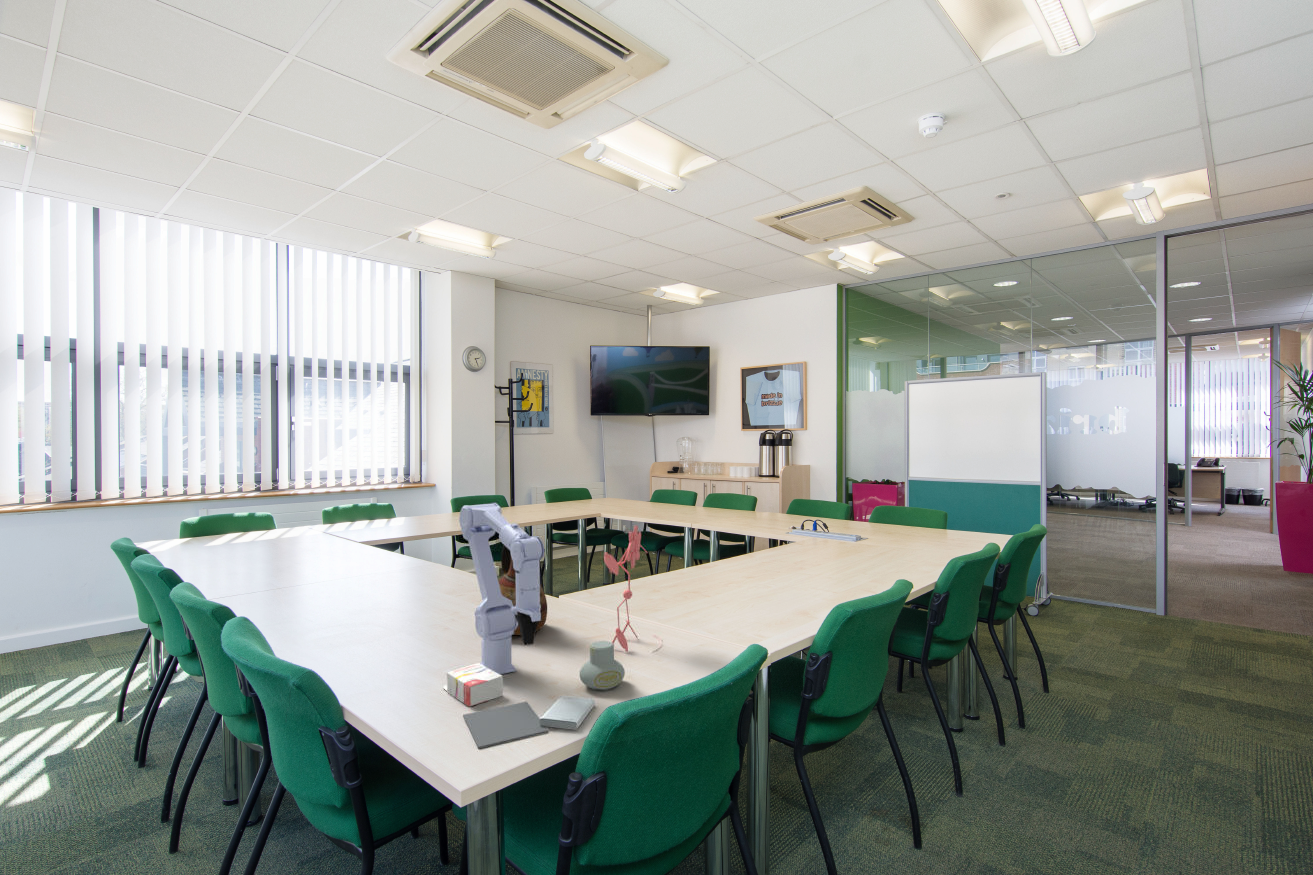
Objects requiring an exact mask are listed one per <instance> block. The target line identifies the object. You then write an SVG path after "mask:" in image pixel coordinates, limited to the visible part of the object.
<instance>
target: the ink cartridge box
mask: <svg viewBox="0 0 1313 875" xmlns="http://www.w3.org/2000/svg"><path fill="white" fill-rule="evenodd" d="M479 663H480V662H476V663H473V664H469V665H467V666H463V667H460V668H457V669H454V670H451V671H448V672H446V679H447V680H446V685H443V686H442V689H444V690H445V691H446V692H447V693H448V694H449V695H451V696H452V697H454V698H456V699H457V700H459V701H460V702H462V703H464V704H465V705H466V706H468V707H473V706H476V705H479V704H482V703H485V702H488V701H491V700H494V699H497V698H499V697H502V696H503V694H504V693H503V692H504V691H503V690H504V688H503V686H504V684H503V682H504V681H503V680H504V678H503V674H498V673H496V672H494V671H492V670H490V669H489V668H487V667H485V666H483V665H481V664H479Z"/></svg>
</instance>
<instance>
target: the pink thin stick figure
mask: <svg viewBox="0 0 1313 875" xmlns="http://www.w3.org/2000/svg"><path fill="white" fill-rule="evenodd" d="M638 529H639V528H638V525H637V524H636V525H634V527H633V531H630V532H629V533H628V541H629V542H628V547H627V548H626V550H625V552H624V554H622V557H621V558H620V560H619V561H618V562H617V560H616V558H615V557H614V556H613V555H612V554H609V553H608V552H606V551H605V552H604V556H603V559H604V560H603V561H604V564H605V566H606V567H607V568H608V571H609V574H612V573H613V574H614V575H616V576H618V575H619V570H620V568H622V570H623V571H624V572H626V574H627V578H628V580H627V581H628V582H627V583H628V584H627V585H628V589H625V590H624V591H623V593H622V596H623V598H624V599H623V601H621V603H619V605H618V606H617V610H616V611H617V626H618V627H617V628H615V636H614V638H613V639H612V641H611V643H613V644H614V645H615V641H616V640H617V641H618V643H619V644H620V646H621V647H622V648H623V650H624V651H625V652H627V653H628V652H629V646H628V640H627V639H626V636H625V634H624V633H625V632H626V630H627V628H628V626H629V628H630V630H631V632H632V633H633V634H634V636H635V637H636V639H638V635H637V634H636V632H635V630H634V629H633V627H632V626H631V622H630V616H629V609H628V608H629V606H628V600H630V599H631V598H632V597H633V591H631V574H630V572H629V571H628V570H627V568H625V567H624V565H623V564H625V563H626V561H627V563H629V562H630V568H631V569H632V570H633V569H634V568H635V566H636V561H639V560H640V558H641V555H640V553H641V552H640V550H641V549H640V548H642V549H643V550H644V552H645V553H646V554H648V551H647V550H646V549H645V548H644V547H643V545H641V540H642V532H641V531H639V530H638ZM619 566H620V568H619ZM623 603H625V606H626V612H627V619H625V621H626V624H625V626H624V627H623V630H621V628H620V614H619V611H620V610H619V608H620V607H621V606H622V605H623ZM654 638H657V639H658V640H660V638H659V637H657V636H656V635H654ZM660 641H661V643H663V639H661V640H660ZM661 648H662V646H661V647H659V648H658V649H655V650H653V653H654V652H656V651H658V650H659V649H661Z"/></svg>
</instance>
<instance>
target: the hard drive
mask: <svg viewBox="0 0 1313 875" xmlns="http://www.w3.org/2000/svg"><path fill="white" fill-rule="evenodd" d="M595 701H596V700H595V699H594V698H592V697H591V698H589V697H580V696H571V695H570V696H568V695H561V696H559V697H558V698H557V700H555V702H554V703H553V704H552V705H551V706H550V707H549V708H548V709H547V710H546V711H545V712H544V714H542V716H541V717H539V718H540V720H539V721H540V722H539V724H540V725H541V726H546V727H548V728H549V727H550V728H556V729H557V728H558V729H559V728H560V729H567V730H573V731H574V730H578V728H579V727H580V725H582V722H583V721H584V720H585V718H586V717H587V716H588V714H589V713H590V712H591V710H592V709H593V708H594V707H595V704H596V703H595Z"/></svg>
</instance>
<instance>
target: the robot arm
mask: <svg viewBox="0 0 1313 875" xmlns="http://www.w3.org/2000/svg"><path fill="white" fill-rule="evenodd" d="M502 513H503V512H502V507H501V506H500V505H499V504H498V503H497V502H492V503H483V504H474V505H473V504H472V505H468V504H467V505H466V504H465V505H463V506H462V507H461V508H460V512H459V518H458V520H459V521H458V522H459V525H460V526H459V527H460V530H461V534H462V536H463V539H465V540H466V541H468V545H469V550H470V554H471V558H472V562H473V566H474V570H475V571H474V572H475V574H476V578H477V583H478V587H479V591H480V595H481V599H482V601H481V603H480V604H478V606H477V607H476V608H475V611H474V618H475V623H474V624H475V625H474V626H475V630H476V633H477V635H478V636H479V637H480V638H482V639H481V663H480V662H478V663H479V664H481V665H483V666H485V667H487V668H489V669H490V670H492V671H494V672H496V673H498V674H500V675H505V674H508V673H515V672H517V668H516V667H515V666H514V665H513V663H512V657H513V656H512V654H513V652H512V635H514V630H516V628H517V626H518V624H519V627H520V631H521V635H520V636H521V640H522V643H523V645H524V646H528V645H530V646H531V645H533V644H534V642H535V636H536V632H537V631H536V629H537V626H538V624H539V622H540V621H541V612H540V609H541V605H540V585H541V581H540V578H541V577H540V575H541V574H540V572H541V571H540V569H541V568H540V561H541V560H542V559H543V557H544V556H545V544H544V543H543V540H542V539H541V538H540V536H538V535H537V536H530V535H529V534H528V533H527V532H525V530H523V529H522V528H521V527H520V526H519V524H518V523H517V522H516V523H510V522H509V521H508V520H507V519H506V518H505V517H504V516H503V515H502ZM496 533H498V534H499V535H498V539H499V542H501V543H502V544H503V546H504V545H505V546H506V547H507V548H508V549H509V550H510V551H511V557H512V560H513V567H514V570H516V606H515V607H514V606H513V603H512V601H511V600H509V599H508V598H506V597H504V596H502V594H501V590H500V586H499V582H498V580H499V579H498V575H497V571H496V567H495V564H494V557H493V556H492V554H493V553H492V551H491V548H490V547H491V546H490V543H489V539H490V538H491V537H493V536H495V535H496ZM516 611H517V612H520V613H521V614H517V612H516Z"/></svg>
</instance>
